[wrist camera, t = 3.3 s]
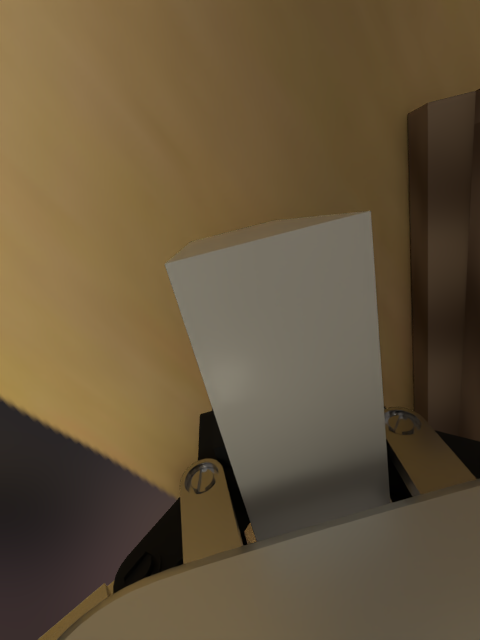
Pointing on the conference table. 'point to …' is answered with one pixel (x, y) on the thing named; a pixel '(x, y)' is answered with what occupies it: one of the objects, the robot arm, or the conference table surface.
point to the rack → (446, 262)
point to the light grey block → (291, 364)
